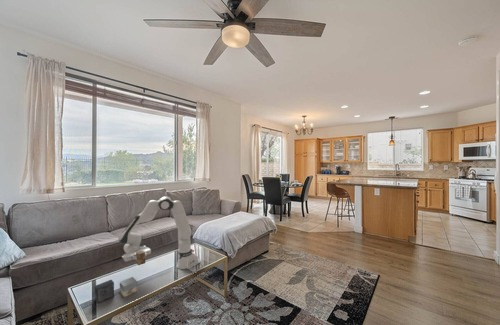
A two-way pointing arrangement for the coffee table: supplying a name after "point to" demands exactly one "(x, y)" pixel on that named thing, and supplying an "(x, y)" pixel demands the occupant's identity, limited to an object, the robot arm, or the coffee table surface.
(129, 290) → the tower base
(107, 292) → the small box
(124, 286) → the tower top
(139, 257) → the walnut block
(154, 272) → the coffee table surface
